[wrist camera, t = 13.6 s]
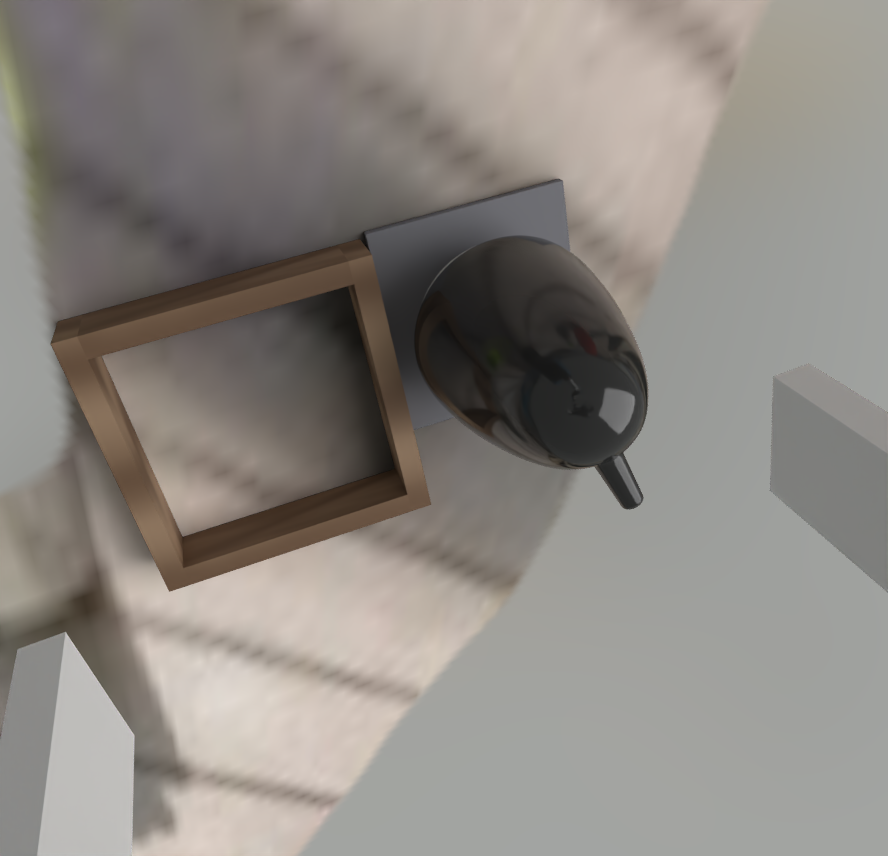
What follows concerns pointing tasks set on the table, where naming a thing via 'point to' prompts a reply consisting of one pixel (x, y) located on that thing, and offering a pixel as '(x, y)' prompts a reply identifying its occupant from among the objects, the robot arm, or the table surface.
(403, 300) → the rubber mat
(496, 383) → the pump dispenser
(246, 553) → the frame
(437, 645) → the table surface
